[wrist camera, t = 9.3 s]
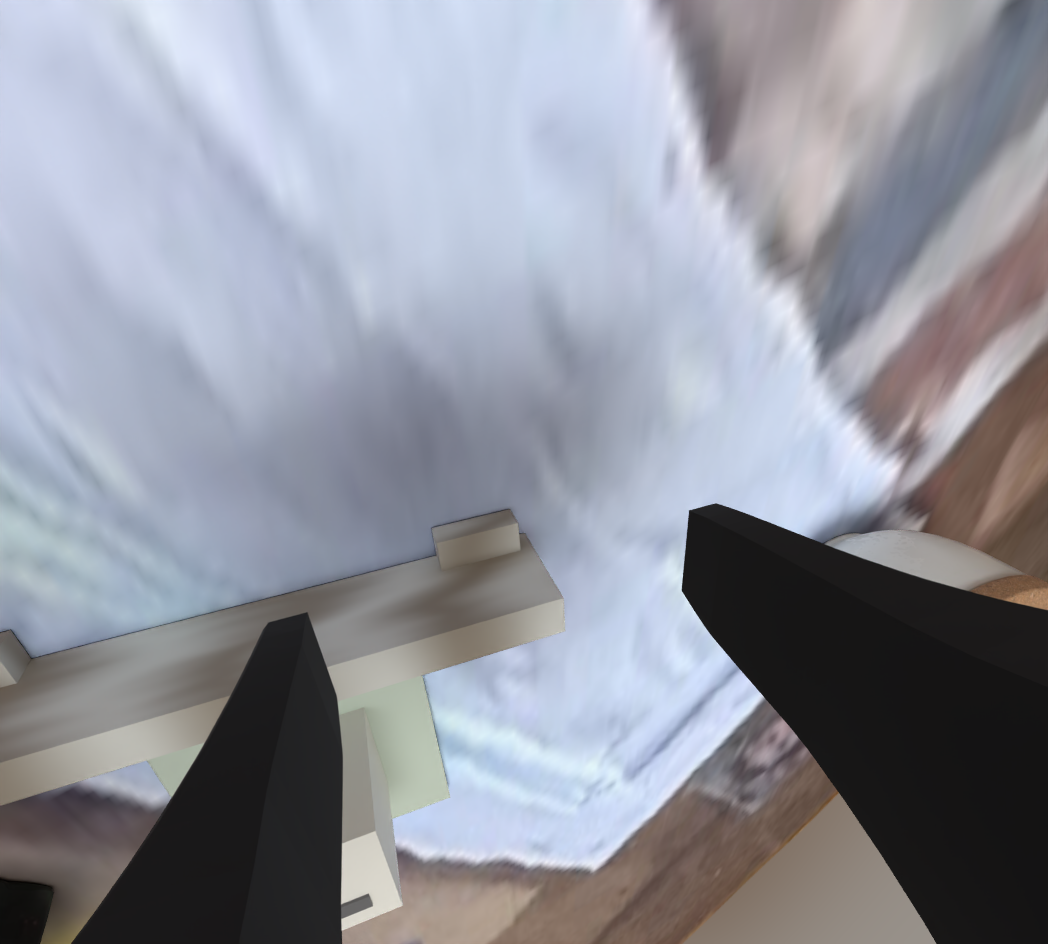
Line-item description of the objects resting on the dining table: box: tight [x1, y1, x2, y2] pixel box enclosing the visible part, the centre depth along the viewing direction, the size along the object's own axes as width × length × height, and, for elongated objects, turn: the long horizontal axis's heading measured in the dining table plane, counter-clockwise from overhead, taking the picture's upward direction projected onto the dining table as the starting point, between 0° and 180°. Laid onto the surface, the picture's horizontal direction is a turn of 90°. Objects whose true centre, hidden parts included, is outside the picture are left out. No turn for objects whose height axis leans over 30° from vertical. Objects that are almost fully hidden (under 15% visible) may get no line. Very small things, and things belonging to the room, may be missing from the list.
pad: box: [147, 676, 450, 819], centre depth 23 cm, size 10×10×1 cm
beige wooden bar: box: [0, 509, 565, 806], centre depth 18 cm, size 20×4×4 cm, turn 95°
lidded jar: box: [824, 530, 1048, 610], centre depth 26 cm, size 11×11×9 cm
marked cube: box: [339, 707, 403, 930], centre depth 20 cm, size 5×5×5 cm
